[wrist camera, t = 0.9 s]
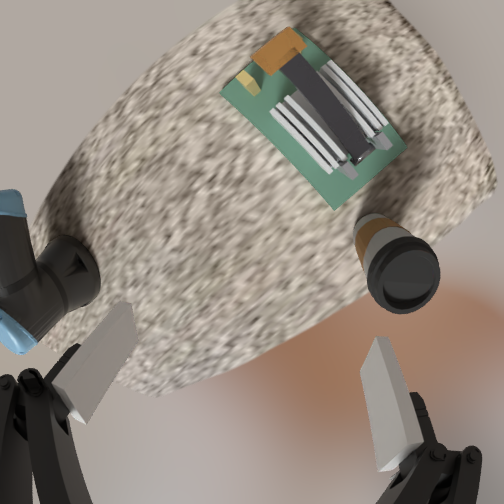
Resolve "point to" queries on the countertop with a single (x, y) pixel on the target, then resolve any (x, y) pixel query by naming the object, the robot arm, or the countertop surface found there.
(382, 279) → the coffee cup
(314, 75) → the strap
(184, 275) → the countertop surface
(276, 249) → the countertop surface
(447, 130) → the countertop surface
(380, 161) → the heatsink base
